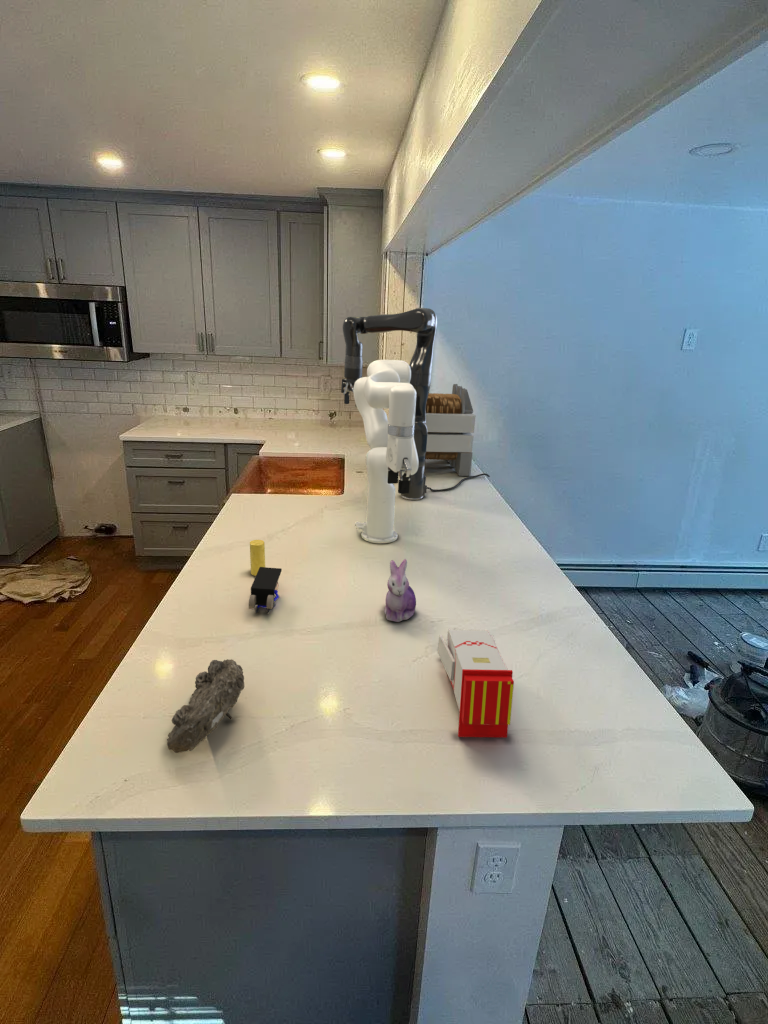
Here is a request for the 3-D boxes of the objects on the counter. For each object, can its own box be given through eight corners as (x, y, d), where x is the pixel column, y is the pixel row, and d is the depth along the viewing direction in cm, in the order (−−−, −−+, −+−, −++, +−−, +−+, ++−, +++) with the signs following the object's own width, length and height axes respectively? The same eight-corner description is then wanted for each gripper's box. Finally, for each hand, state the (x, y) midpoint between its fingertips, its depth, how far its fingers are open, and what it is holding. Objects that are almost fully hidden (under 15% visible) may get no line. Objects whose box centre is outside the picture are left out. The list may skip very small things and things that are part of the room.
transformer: (395, 457, 301) (399, 379, 287) (455, 458, 305) (462, 381, 291) (404, 475, 269) (409, 388, 255) (471, 476, 273) (479, 391, 259)
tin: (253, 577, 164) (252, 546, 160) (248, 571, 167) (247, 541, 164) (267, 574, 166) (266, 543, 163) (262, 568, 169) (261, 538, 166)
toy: (488, 613, 130) (523, 677, 101) (484, 667, 133) (517, 744, 104) (435, 612, 130) (455, 676, 101) (432, 666, 133) (451, 743, 103)
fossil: (192, 660, 117) (244, 628, 112) (224, 691, 120) (276, 661, 115) (142, 746, 98) (202, 712, 93) (182, 779, 101) (242, 748, 96)
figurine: (392, 627, 141) (395, 572, 136) (374, 608, 149) (376, 556, 144) (425, 619, 145) (429, 566, 140) (405, 601, 154) (408, 550, 149)
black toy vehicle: (274, 622, 143) (283, 588, 157) (273, 597, 140) (282, 565, 153) (248, 621, 143) (258, 588, 157) (246, 596, 140) (257, 564, 153)
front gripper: (379, 425, 168) (377, 480, 174) (398, 437, 153) (395, 498, 158) (403, 424, 170) (400, 479, 176) (424, 437, 155) (420, 496, 161)
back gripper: (370, 368, 235) (369, 407, 241) (351, 364, 246) (350, 402, 251) (355, 368, 231) (354, 408, 236) (336, 365, 241) (335, 403, 247)
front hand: (397, 488), depth 167 cm, fingers open, 9 cm apart
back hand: (352, 405), depth 244 cm, fingers open, 8 cm apart
